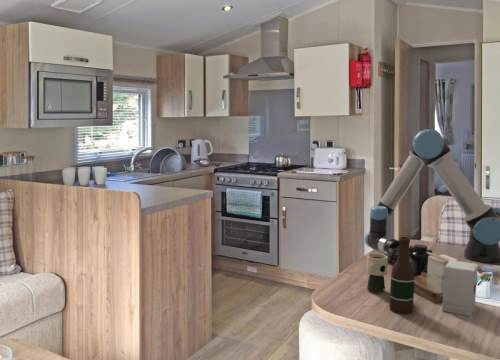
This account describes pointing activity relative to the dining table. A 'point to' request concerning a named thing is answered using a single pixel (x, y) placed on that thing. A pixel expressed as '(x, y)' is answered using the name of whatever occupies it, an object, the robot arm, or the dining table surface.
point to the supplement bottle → (419, 259)
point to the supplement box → (459, 287)
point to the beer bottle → (402, 280)
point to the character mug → (376, 271)
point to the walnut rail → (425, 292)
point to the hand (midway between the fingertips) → (424, 261)
